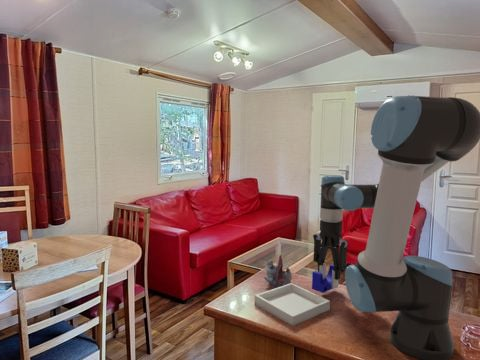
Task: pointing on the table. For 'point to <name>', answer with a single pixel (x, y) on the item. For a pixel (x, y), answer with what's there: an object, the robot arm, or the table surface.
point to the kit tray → (292, 303)
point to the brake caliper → (277, 273)
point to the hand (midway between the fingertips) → (328, 285)
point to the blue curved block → (318, 280)
